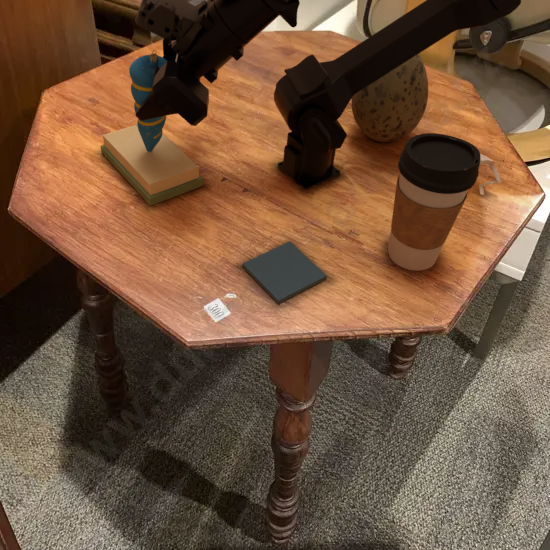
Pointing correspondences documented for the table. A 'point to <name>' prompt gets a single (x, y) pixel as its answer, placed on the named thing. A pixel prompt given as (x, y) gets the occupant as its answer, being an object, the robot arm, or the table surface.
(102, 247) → the table surface
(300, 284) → the mat
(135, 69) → the ornament
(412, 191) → the coffee cup
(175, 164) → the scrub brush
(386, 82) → the decorative egg
